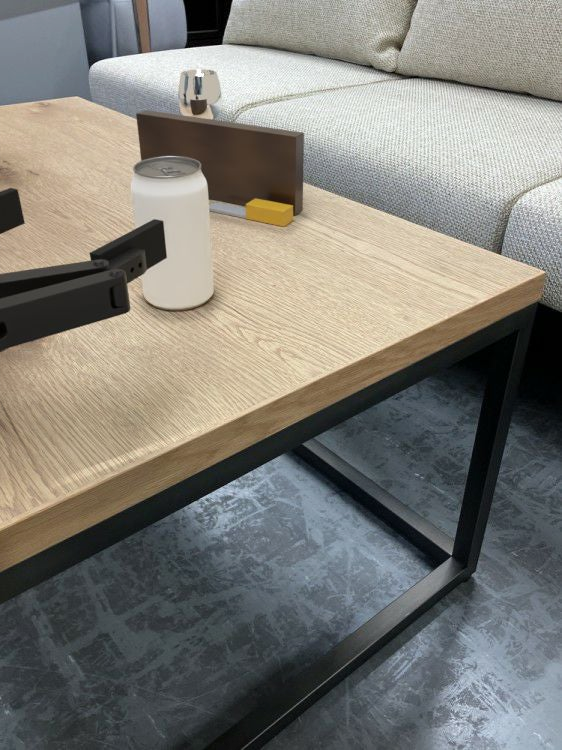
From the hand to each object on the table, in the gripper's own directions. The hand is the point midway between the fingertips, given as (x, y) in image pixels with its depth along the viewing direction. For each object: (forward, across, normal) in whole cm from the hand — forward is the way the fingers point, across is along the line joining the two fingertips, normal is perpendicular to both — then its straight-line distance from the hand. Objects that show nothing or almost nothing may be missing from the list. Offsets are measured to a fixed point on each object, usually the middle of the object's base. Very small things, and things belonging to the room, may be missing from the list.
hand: (85, 221), depth 51 cm
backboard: (+34, -11, -11) cm, 37 cm away
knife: (+31, -5, -11) cm, 33 cm away
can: (+10, 0, -11) cm, 15 cm away
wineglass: (+44, -20, -11) cm, 50 cm away
